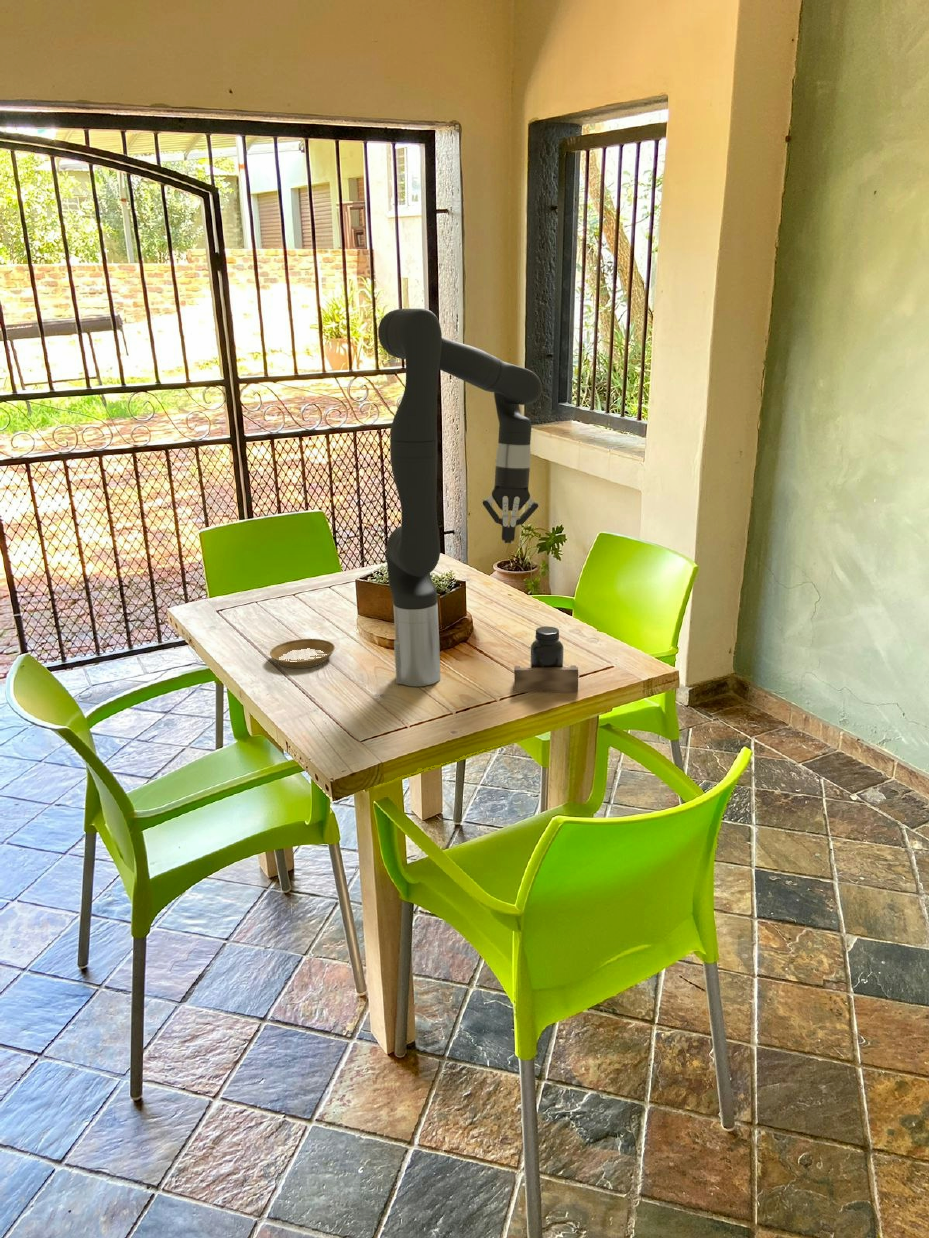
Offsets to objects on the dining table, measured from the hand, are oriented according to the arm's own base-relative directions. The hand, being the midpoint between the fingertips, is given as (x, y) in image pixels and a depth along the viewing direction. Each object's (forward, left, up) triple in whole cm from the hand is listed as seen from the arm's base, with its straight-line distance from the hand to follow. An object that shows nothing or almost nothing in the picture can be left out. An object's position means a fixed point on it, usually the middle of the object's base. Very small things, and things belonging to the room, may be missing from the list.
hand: (507, 542), depth 201 cm
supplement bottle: (+8, -22, -25) cm, 34 cm away
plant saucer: (-47, -7, -26) cm, 54 cm away
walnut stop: (+8, -23, -25) cm, 35 cm away
